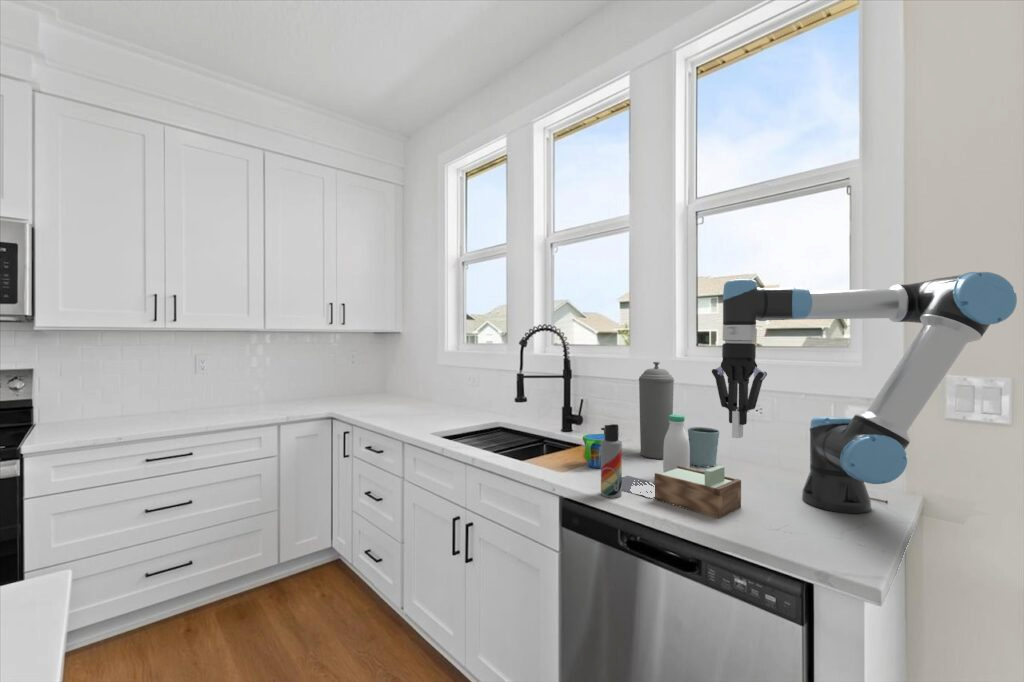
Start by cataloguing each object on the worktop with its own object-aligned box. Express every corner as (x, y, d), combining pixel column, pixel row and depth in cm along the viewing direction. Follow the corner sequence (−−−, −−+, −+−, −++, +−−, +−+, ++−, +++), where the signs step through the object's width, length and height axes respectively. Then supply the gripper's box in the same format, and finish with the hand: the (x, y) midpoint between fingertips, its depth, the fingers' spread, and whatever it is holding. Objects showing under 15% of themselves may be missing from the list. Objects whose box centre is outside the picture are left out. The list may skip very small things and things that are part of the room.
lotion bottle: (609, 499, 132) (609, 426, 132) (596, 493, 137) (597, 423, 137) (625, 496, 135) (626, 424, 135) (612, 490, 140) (612, 421, 140)
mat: (676, 489, 141) (676, 488, 141) (650, 498, 133) (650, 498, 133) (627, 476, 154) (627, 475, 154) (601, 484, 146) (601, 483, 146)
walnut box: (741, 507, 126) (741, 480, 126) (718, 518, 119) (718, 489, 119) (678, 490, 140) (678, 465, 140) (654, 499, 132) (654, 473, 132)
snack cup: (599, 459, 175) (599, 431, 175) (624, 464, 168) (624, 435, 168) (572, 467, 164) (572, 437, 164) (597, 473, 157) (597, 442, 157)
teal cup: (682, 460, 174) (683, 427, 173) (709, 459, 175) (709, 426, 175) (696, 468, 164) (696, 432, 163) (725, 467, 165) (725, 432, 164)
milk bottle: (691, 484, 146) (691, 417, 146) (664, 482, 148) (665, 417, 147) (687, 476, 154) (687, 413, 153) (662, 475, 155) (662, 413, 155)
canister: (650, 450, 189) (650, 360, 189) (680, 456, 180) (680, 361, 179) (631, 455, 181) (631, 361, 180) (662, 462, 171) (662, 363, 171)
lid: (733, 485, 127) (733, 467, 127) (714, 493, 121) (714, 474, 120) (677, 472, 139) (677, 455, 139) (658, 478, 133) (658, 461, 133)
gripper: (706, 342, 123) (705, 434, 123) (759, 343, 113) (757, 443, 113) (720, 341, 128) (719, 431, 128) (772, 342, 118) (771, 439, 118)
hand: (737, 437), depth 121 cm, fingers closed
